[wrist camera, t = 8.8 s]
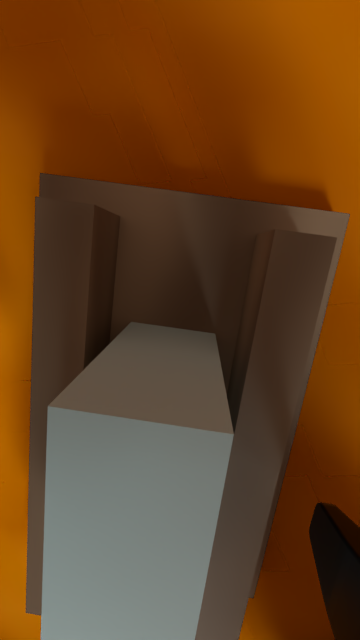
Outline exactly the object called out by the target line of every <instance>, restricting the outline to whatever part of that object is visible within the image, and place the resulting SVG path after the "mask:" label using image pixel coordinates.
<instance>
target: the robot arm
mask: <svg viewBox="0 0 360 640" xmlns="http://www.w3.org/2000/svg"><path fill="white" fill-rule="evenodd" d="M309 534H310V540H311V545H312V549H313V554H314V558H315V563H316V567H317V572H318V576H319V581H320V585H321V590H322V594H323V599H324V603H325V607H326V611H327V614H328V617H329V621H330V624H331V627H332V630H333V634H334V637H335V640H360V528H359V527H358V526H357V525H356V524H355V523H354V522H353V521H352V520H351V519H350V518H348V517H347V516H346V515H345V514H344V513H343V512H342V511H341V510H340V509H339V508H338V507H336V506H335V505H333V504H328V503H322V502H320V503H317V505H316V507H315V510H314V514H313V517H312V521H311V524H310V529H309Z"/></svg>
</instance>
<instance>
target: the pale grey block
mask: <svg viewBox="0 0 360 640" xmlns="http://www.w3.org/2000/svg"><path fill="white" fill-rule="evenodd" d="M233 436H234V433H233V427H232V422H231V416H230V411H229V406H228V400H227V395H226V389H225V384H224V378H223V373H222V368H221V362H220V357H219V351H218V346H217V341H216V335H215V334H214V333H207V332H200V331H193V330H186V329H179V328H172V327H165V326H157V325H150V324H143V323H136V322H131V323H130V324H129V325H128V326H127V327H126V328H125V329H124V330H123V331H122V332H121V333H120V334H119V335H118V336H117V337H116V338H115V339H114V340H113V341H112V342H111V343H110V344H109V345H108V346H107V347H106V348H105V349H104V350H103V351H102V352H101V353H100V354H99V355H98V356H97V357H96V358H95V359H94V360H93V361H92V362H91V363H90V364H89V365H88V366H87V367H86V368H85V369H84V370H83V371H82V372H81V373H80V374H79V375H78V376H77V377H76V378H75V379H74V380H73V381H72V382H71V383H70V384H69V385H68V386H67V387H66V388H65V389H64V390H63V391H62V392H61V393H60V394H59V395H58V396H57V397H56V398H55V399H54V400H53V401H52V402H51V403H50V404H49V405H48V413H47V447H46V480H45V514H44V547H43V581H42V614H41V640H195V636H196V631H197V625H198V620H199V615H200V610H201V604H202V599H203V594H204V589H205V583H206V578H207V573H208V568H209V562H210V557H211V552H212V547H213V541H214V536H215V531H216V526H217V520H218V515H219V510H220V505H221V499H222V494H223V489H224V484H225V478H226V473H227V468H228V463H229V457H230V452H231V447H232V442H233Z"/></svg>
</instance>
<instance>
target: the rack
mask: <svg viewBox="0 0 360 640" xmlns="http://www.w3.org/2000/svg"><path fill="white" fill-rule="evenodd" d="M349 216H350V214H347V213H339V212H332V211H324V210H317V209H309V208H302V207H294V206H287V205H279V204H271V203H264V202H256V201H249V200H241V199H234V198H226V197H218V196H211V195H203V194H196V193H188V192H181V191H173V190H165V189H158V188H150V187H143V186H135V185H128V184H120V183H113V182H105V181H97V180H90V179H82V178H75V177H67V176H60V175H52V174H44V173H40V191H39V197H35V240H34V283H33V326H32V369H31V411H30V454H29V497H28V540H27V583H26V613H30V614H36V615H41V614H42V581H43V547H44V514H45V480H46V447H47V413H48V405H49V404H50V403H51V402H52V401H53V400H54V399H55V398H56V397H57V396H58V395H59V394H60V393H61V392H62V391H63V390H64V389H65V388H66V387H67V386H68V385H69V384H70V383H71V382H72V381H73V380H74V379H75V378H76V377H77V376H78V375H79V374H80V373H81V372H82V371H83V370H84V369H85V368H86V367H87V366H88V365H89V364H90V363H91V362H92V361H93V360H94V359H95V358H96V357H97V356H98V355H99V354H100V353H101V352H102V351H103V350H104V349H105V348H106V347H107V346H108V345H109V344H110V343H111V342H112V341H113V340H114V339H115V338H116V337H117V336H118V335H119V334H120V333H121V332H122V331H123V330H124V329H125V328H126V327H127V326H128V325H129V324H130V323H131V322H136V323H143V324H150V325H157V326H165V327H172V328H179V329H186V330H193V331H200V332H207V333H214V334H215V335H216V341H217V346H218V351H219V357H220V362H221V368H222V373H223V378H224V384H225V389H226V395H227V400H228V406H229V411H230V416H231V422H232V427H233V433H234V436H233V442H232V447H231V452H230V457H229V463H228V468H227V473H226V478H225V484H224V489H223V494H222V499H221V505H220V510H219V515H218V520H217V526H216V531H215V536H214V541H213V547H212V552H211V557H210V562H209V568H208V573H207V578H206V583H205V589H204V594H203V599H202V604H201V610H200V615H199V620H198V625H197V631H196V636H195V640H238V639H239V635H240V631H241V627H242V623H243V619H244V614H245V610H246V606H247V602H248V598H254V594H255V590H256V586H257V582H258V578H259V574H260V570H261V566H262V562H263V558H264V554H265V550H266V546H267V542H268V538H269V535H270V531H271V527H272V523H273V519H274V515H275V511H276V507H277V503H278V499H279V495H280V491H281V487H282V483H283V479H284V475H285V471H286V467H287V463H288V459H289V455H290V451H291V447H292V443H293V439H294V435H295V431H296V427H297V423H298V419H299V415H300V411H301V407H302V403H303V399H304V395H305V391H306V387H307V383H308V379H309V375H310V371H311V367H312V363H313V359H314V355H315V351H316V347H317V343H318V339H319V336H320V332H321V328H322V324H323V320H324V316H325V312H326V308H327V304H328V300H329V296H330V292H331V288H332V284H333V280H334V276H335V272H336V268H337V264H338V260H339V256H340V252H341V248H342V244H343V240H344V236H345V232H346V228H347V224H348V220H349Z"/></svg>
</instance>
